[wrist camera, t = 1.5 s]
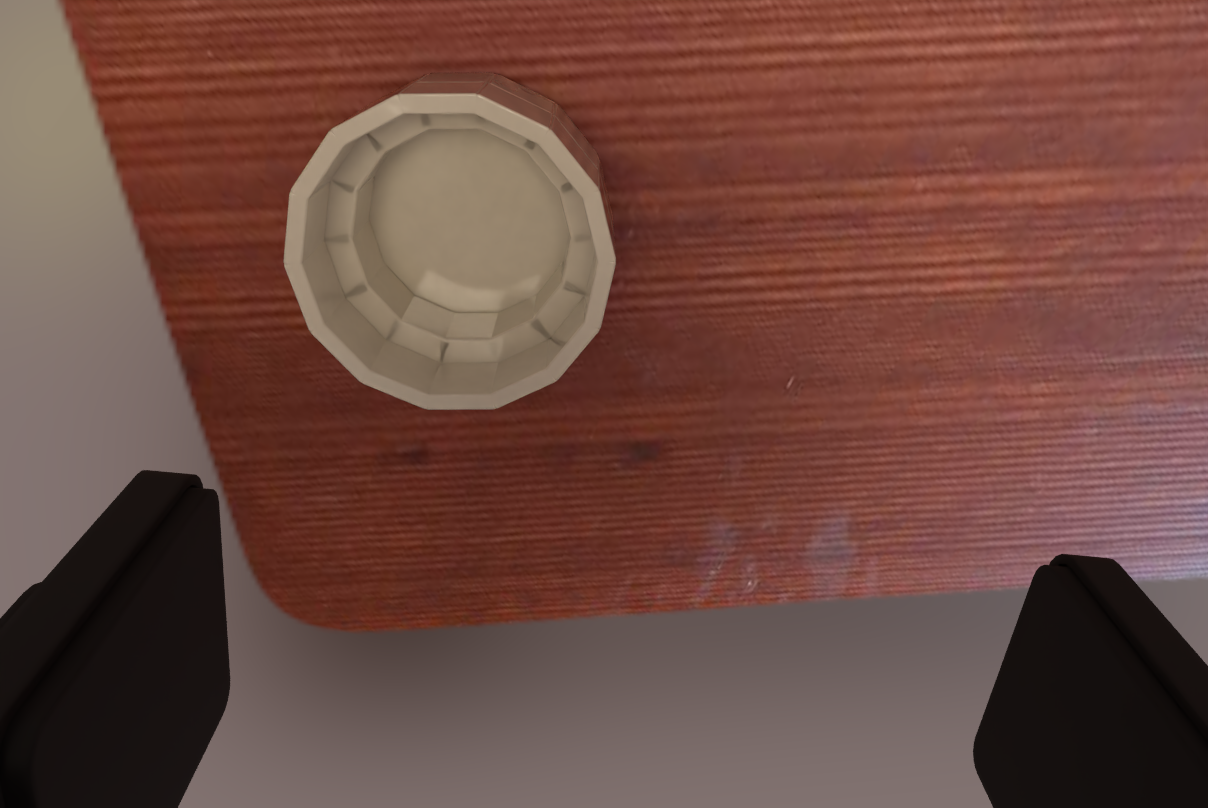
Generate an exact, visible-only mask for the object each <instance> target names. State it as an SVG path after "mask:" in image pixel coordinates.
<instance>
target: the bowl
mask: <svg viewBox="0 0 1208 808" xmlns="http://www.w3.org/2000/svg"><path fill="white" fill-rule="evenodd" d="M615 266H616V251H615V237H614V226H613V214H612V210H611V205H610V201H609V197H608V192H607V188H606V184H605V179H604V175H603V171H602V166H601V162H600V159H599V158H598V154H597V152H596V151H595V150H594V149H593V147H592V146H591V145H590V144H589V142H588V141H587V140H586V139H585V137H584V136H583V135H582V133H581V132H580V131H579V130H578V128H577V127H576V126H575V125H574V123H573V122H572V121H571V120H570V118H569V117H568V116H567V115H566V113H565V112H564V111H563V110H562V108H561V107H560V106H559V105H558V104H556V103H555V102H554V101H552V100H550V99H548V98H546V97H544V96H542V95H540V94H538V93H536V92H534V91H532V90H530V89H528V88H525V87H523V86H521V85H519V84H517V83H515V82H513V81H511V80H509V79H507V78H505V77H503V76H501V75H499V74H496V75H495V74H493V73H430V74H428V75H427V74H426V75H423V76H421V77H419V78H417V79H415V80H413V81H412V82H410V83H408V84H406V85H404V86H402V87H400V88H398V89H397V90H395V91H393V92H391V93H389V94H387V95H385V96H383V97H381V98H380V99H378V100H376V101H374V102H372V103H371V104H369V105H368V106H366V107H364V108H363V109H361V110H360V111H358V112H357V113H355V114H353V115H352V116H350V117H349V118H347V119H346V120H344V121H343V122H341V123H339V124H338V125H336V126H335V127H333V128H332V129H331V130H330V131H329V132H328V133H327V135H326V136H325V138H324V139H323V141H322V142H321V144H320V145H319V147H318V148H317V150H316V152H315V153H314V155H313V156H312V158H311V159H310V161H309V162H308V164H307V165H306V167H305V168H304V170H303V171H302V173H301V174H300V176H299V178H298V179H297V181H296V182H295V184H294V185H293V187H292V188H291V192H290V193H289V203H288V215H287V227H286V238H285V250H284V267H285V269H286V272H287V275H288V277H289V280H290V282H291V285H292V287H293V290H294V293H295V295H296V298H297V300H298V303H299V306H300V308H301V311H302V313H303V316H304V319H305V321H306V324H307V326H308V329H309V331H310V332H311V334H312V335H313V336H314V337H315V338H316V339H317V340H318V341H319V342H320V343H321V344H322V345H323V346H324V347H325V348H326V349H327V350H328V351H329V352H330V353H331V354H332V355H333V356H334V357H335V358H336V359H337V360H338V361H339V362H340V363H341V364H342V365H343V366H344V367H345V368H346V369H347V370H348V371H349V372H350V373H351V374H352V375H353V376H354V377H355V378H356V379H357V380H358V381H360V382H361V383H363V384H365V385H367V386H370V387H372V388H375V389H377V390H379V391H382V392H384V393H387V394H389V395H392V396H394V397H396V398H399V399H401V400H404V401H406V402H409V403H411V404H413V405H416V406H418V407H421V408H423V409H426V408H427V410H459V409H495V408H496V409H497V408H499V407H501V406H504V405H506V404H508V403H510V402H512V401H515V400H517V399H519V398H521V397H524V396H526V395H528V394H530V393H532V392H535V391H537V390H539V389H541V388H543V387H546V386H548V385H550V384H552V383H554V382H556V380H559V378H560V377H561V376H562V375H563V374H564V372H565V371H566V370H567V369H568V368H569V366H570V365H571V364H572V363H573V362H574V361H575V359H576V358H577V357H578V356H579V355H580V353H581V352H582V351H583V350H584V349H585V347H586V346H587V345H588V344H589V343H590V341H591V340H592V339H593V338H594V337H595V335H596V334H597V333H598V332H599V330H600V328H601V325H602V321H603V317H604V313H605V308H606V304H607V300H608V296H609V292H610V287H611V283H612V279H613V275H614V270H615Z"/></svg>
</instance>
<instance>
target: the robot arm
mask: <svg viewBox="0 0 1208 808" xmlns="http://www.w3.org/2000/svg"><path fill="white" fill-rule="evenodd" d="M229 690H230V669H229V654H228V637H227V621H226V606H225V590H224V575H223V559H222V543H221V528H220V512H219V500H218V495H217V493H216V491H215V490H214V489H203V484H202V482H201V480H200V478H199V477H198V476H197V475H192V474H182V473H172V472H159V471H150V470H144V471H141V472H140V473H138V474H137V475H136V476H135V477H134V478H133V480H132V481H131V482H130V483H129V484H128V485H127V486H126V487H125V489H124V490H123V491H122V492H121V493H120V494H119V496H117V498H116V499H115V500H114V501H113V502H112V503H111V504H110V505H109V507H108V508H107V509H106V510H105V511H104V512H103V513H102V515H101V516H100V517H99V518H98V519H97V520H96V521H95V522H94V524H93V525H92V526H91V527H90V528H89V529H88V530H87V532H86V533H85V534H84V535H83V536H82V537H81V538H80V540H79V541H78V542H77V543H76V544H75V545H74V546H73V547H72V549H71V550H70V551H69V552H68V553H67V554H66V555H65V556H64V558H63V559H62V560H61V561H60V562H59V563H58V564H57V566H56V567H55V568H54V569H53V570H52V571H51V572H50V573H49V575H48V576H47V577H46V578H45V579H44V580H43V581H42V582H40V583H37V584H34V585H32V586H31V587H30V588H29V589H28V590H26V591H25V592H24V593H23V594H22V595H21V596H20V597H19V598H18V599H17V601H16V602H15V603H14V604H13V605H12V606H11V607H10V608H9V609H8V611H7V612H6V613H5V614H4V615H3V616H2V617H1V618H0V808H178V806H179V804H180V802H181V800H182V798H183V796H184V793H185V791H186V790H187V787H188V785H189V783H190V781H191V779H192V777H193V775H194V773H195V771H196V769H197V767H198V765H199V763H200V761H201V759H202V757H203V755H204V753H205V751H206V749H207V746H208V744H209V742H210V740H211V738H212V736H213V734H214V732H215V730H216V728H217V726H218V724H219V721H220V720H221V717H222V716H223V713H224V711H225V708H226V705H227V701H228V696H229ZM973 756H974V764H975V768H976V771H977V774H978V776H979V778H980V780H981V782H982V785H983V787H984V789H985V791H986V793H987V795H988V797H989V799H990V801H991V804H992V806H993V808H1208V666H1207V665H1206V664H1205V662H1204V661H1203V660H1202V659H1201V658H1200V656H1199V655H1198V654H1197V653H1196V652H1195V651H1194V650H1193V648H1192V647H1191V646H1190V645H1189V644H1188V643H1187V642H1186V641H1185V639H1184V638H1183V637H1182V636H1181V635H1180V634H1179V632H1178V631H1177V630H1176V629H1175V628H1174V627H1173V626H1172V624H1171V623H1170V622H1169V621H1168V620H1167V619H1166V618H1165V617H1164V615H1163V614H1162V613H1161V612H1160V611H1159V609H1158V608H1157V607H1156V606H1155V605H1154V604H1153V603H1152V601H1151V600H1150V599H1149V598H1148V597H1147V596H1146V594H1145V593H1144V592H1143V591H1142V590H1141V589H1140V588H1139V587H1138V585H1137V584H1136V583H1135V582H1134V581H1133V580H1132V578H1131V577H1130V576H1129V575H1128V574H1127V573H1126V571H1125V570H1124V569H1123V568H1122V567H1121V566H1120V565H1119V564H1118V563H1117V562H1116V561H1114V560H1113V559H1109V558H1101V557H1090V556H1079V555H1068V554H1061V555H1058V556H1056V557H1055V558H1054V559H1053V560H1052V561H1051V562H1050V564H1049V565H1043V566H1040V567H1039V568H1038V569H1037V571H1036V573H1035V575H1034V577H1033V579H1032V582H1031V585H1030V588H1029V591H1028V593H1027V596H1026V599H1025V601H1024V604H1023V607H1022V610H1021V612H1020V615H1019V618H1018V621H1017V624H1016V626H1015V629H1014V632H1013V635H1012V637H1011V640H1010V643H1009V646H1008V648H1007V651H1006V654H1005V657H1004V660H1003V662H1002V665H1001V668H1000V671H999V674H998V676H997V680H996V682H995V684H994V687H993V690H992V693H991V695H990V698H989V701H988V704H987V707H986V709H985V712H984V715H983V718H982V720H981V723H980V726H979V729H978V732H977V734H976V737H975V741H974V749H973Z"/></svg>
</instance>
